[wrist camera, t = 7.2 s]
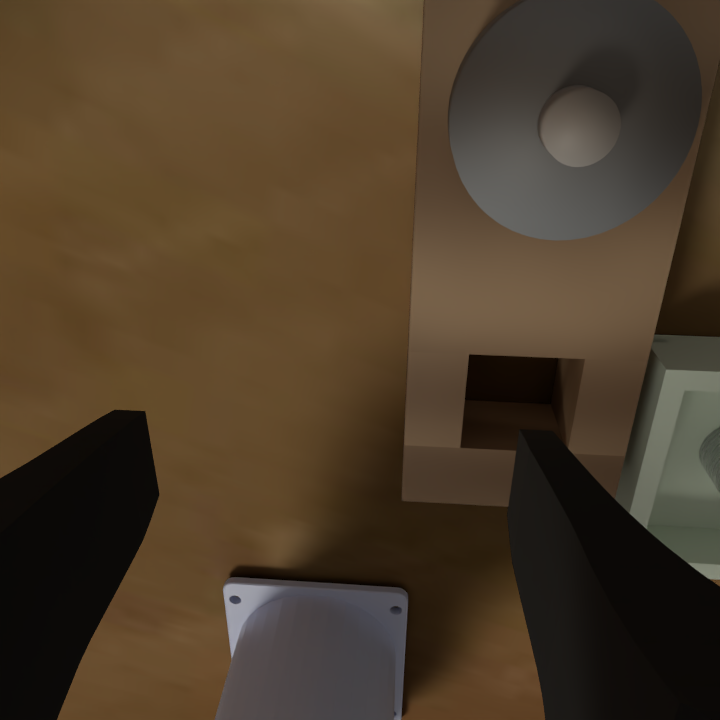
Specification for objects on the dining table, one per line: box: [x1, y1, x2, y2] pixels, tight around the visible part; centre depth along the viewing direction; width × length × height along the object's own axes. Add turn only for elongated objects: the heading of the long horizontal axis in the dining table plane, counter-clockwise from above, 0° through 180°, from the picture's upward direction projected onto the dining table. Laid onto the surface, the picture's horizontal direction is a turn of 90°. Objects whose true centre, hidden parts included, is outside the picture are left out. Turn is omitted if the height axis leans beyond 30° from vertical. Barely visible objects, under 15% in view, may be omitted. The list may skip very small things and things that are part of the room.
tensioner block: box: [402, 0, 720, 507], centre depth 19 cm, size 16×7×5 cm, turn 0°
